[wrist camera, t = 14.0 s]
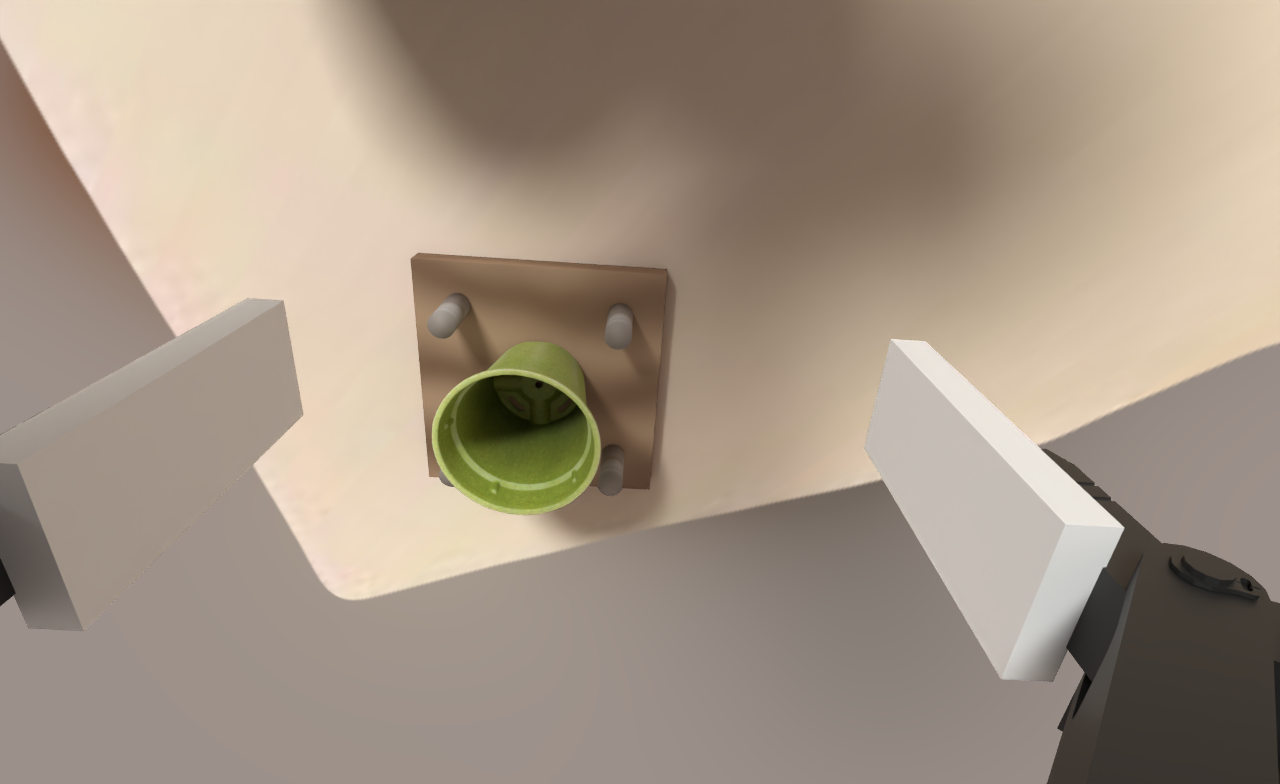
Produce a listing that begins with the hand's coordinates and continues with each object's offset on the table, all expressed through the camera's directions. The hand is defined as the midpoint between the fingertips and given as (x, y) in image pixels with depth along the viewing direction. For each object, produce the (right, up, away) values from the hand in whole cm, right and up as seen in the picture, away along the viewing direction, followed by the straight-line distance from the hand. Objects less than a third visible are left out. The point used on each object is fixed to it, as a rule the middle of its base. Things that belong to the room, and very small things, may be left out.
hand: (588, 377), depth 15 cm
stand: (-6, +1, +31) cm, 32 cm away
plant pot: (-6, 0, +30) cm, 31 cm away
